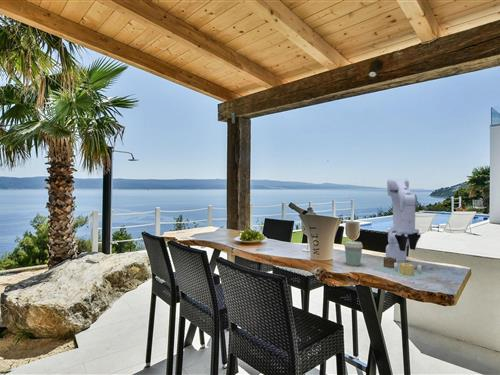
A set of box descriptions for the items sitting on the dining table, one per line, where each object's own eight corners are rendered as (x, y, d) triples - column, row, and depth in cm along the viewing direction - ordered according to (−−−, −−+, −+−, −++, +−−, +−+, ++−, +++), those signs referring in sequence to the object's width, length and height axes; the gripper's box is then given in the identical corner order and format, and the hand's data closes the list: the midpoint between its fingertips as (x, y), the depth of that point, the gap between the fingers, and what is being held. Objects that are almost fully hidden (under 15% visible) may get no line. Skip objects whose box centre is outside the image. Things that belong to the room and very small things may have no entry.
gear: (380, 266, 143) (381, 257, 143) (388, 264, 145) (388, 256, 145) (391, 268, 138) (391, 260, 138) (398, 267, 141) (398, 259, 141)
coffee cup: (366, 269, 142) (366, 243, 142) (349, 269, 141) (349, 244, 141) (356, 264, 150) (357, 240, 150) (340, 265, 149) (341, 240, 149)
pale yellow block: (399, 274, 129) (399, 264, 129) (400, 271, 134) (400, 262, 134) (413, 276, 126) (413, 266, 126) (414, 273, 131) (414, 264, 131)
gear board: (367, 270, 140) (368, 259, 140) (390, 266, 148) (390, 256, 148) (413, 283, 121) (413, 271, 121) (436, 278, 129) (436, 267, 129)
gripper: (406, 222, 132) (406, 253, 132) (425, 220, 140) (425, 250, 140) (392, 220, 138) (391, 250, 138) (411, 219, 146) (410, 247, 146)
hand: (407, 250), depth 139 cm, fingers open, 7 cm apart
